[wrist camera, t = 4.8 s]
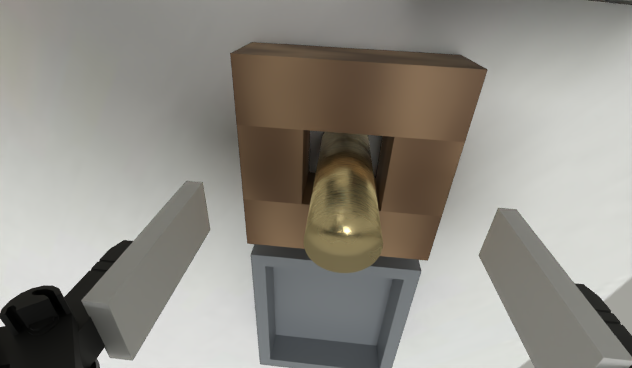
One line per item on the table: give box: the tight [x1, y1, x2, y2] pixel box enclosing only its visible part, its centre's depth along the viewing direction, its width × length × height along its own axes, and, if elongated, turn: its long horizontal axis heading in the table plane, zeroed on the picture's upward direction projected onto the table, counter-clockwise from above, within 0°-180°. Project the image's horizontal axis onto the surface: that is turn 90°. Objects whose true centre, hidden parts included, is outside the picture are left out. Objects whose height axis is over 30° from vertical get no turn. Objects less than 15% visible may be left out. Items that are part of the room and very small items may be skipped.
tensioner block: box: [230, 42, 487, 260], centre depth 20 cm, size 12×12×4 cm
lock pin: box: [304, 132, 383, 273], centre depth 17 cm, size 3×3×10 cm
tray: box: [251, 244, 421, 368], centre depth 27 cm, size 12×14×4 cm
